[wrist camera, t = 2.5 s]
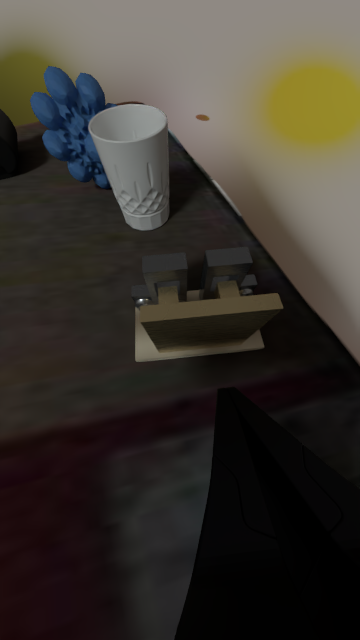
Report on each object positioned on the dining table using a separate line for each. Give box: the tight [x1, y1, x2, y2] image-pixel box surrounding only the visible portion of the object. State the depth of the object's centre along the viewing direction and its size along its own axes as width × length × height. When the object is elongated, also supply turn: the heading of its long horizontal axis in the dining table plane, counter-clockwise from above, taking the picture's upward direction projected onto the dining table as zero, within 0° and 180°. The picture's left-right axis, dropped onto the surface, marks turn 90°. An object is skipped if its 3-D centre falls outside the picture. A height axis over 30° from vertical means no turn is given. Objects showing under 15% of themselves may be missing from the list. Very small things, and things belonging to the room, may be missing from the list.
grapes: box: [30, 66, 117, 189], centre depth 23 cm, size 12×7×12 cm, turn 120°
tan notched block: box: [140, 280, 283, 353], centre depth 14 cm, size 4×8×8 cm, turn 96°
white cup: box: [88, 104, 169, 231], centre depth 22 cm, size 8×8×10 cm
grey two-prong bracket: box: [132, 247, 258, 311], centre depth 16 cm, size 2×12×6 cm, turn 96°
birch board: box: [136, 290, 264, 362], centre depth 19 cm, size 7×13×1 cm, turn 96°
